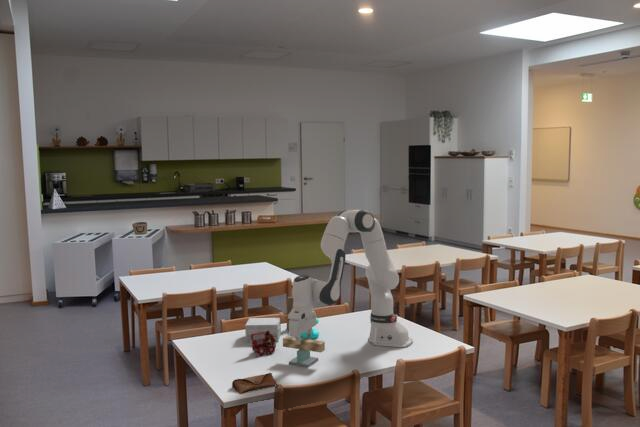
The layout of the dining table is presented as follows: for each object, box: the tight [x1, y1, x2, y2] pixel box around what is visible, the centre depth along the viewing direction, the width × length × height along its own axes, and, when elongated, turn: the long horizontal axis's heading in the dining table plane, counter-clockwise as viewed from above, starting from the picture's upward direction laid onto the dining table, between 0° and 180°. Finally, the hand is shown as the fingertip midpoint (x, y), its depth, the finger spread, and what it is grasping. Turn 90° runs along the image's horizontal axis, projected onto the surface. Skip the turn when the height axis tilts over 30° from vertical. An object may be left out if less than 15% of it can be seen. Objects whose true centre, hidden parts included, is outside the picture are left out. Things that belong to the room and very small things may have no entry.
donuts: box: [300, 317, 320, 340], centre depth 301 cm, size 10×10×10 cm
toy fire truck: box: [251, 331, 277, 357], centre depth 279 cm, size 7×12×10 cm, turn 119°
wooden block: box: [286, 296, 294, 331], centre depth 315 cm, size 4×11×18 cm, turn 112°
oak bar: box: [282, 335, 326, 353], centre depth 264 cm, size 20×4×4 cm, turn 63°
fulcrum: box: [288, 349, 319, 369], centre depth 264 cm, size 10×10×7 cm
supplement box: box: [244, 317, 282, 343], centre depth 301 cm, size 17×13×9 cm
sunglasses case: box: [231, 372, 278, 395], centre depth 238 cm, size 18×7×7 cm
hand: (303, 340), depth 264 cm, fingers open, 8 cm apart
